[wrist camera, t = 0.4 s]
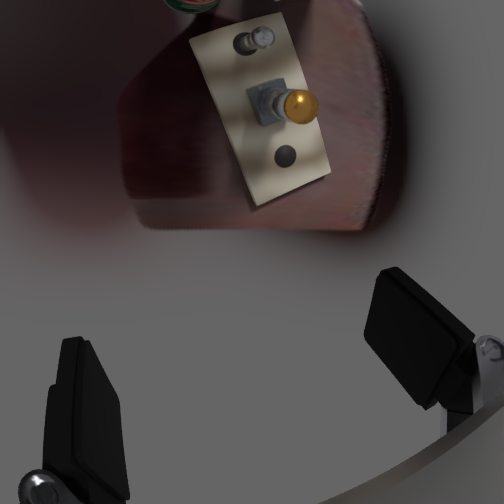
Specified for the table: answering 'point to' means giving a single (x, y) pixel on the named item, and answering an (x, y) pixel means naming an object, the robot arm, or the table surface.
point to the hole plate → (242, 115)
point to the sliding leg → (281, 103)
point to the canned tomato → (191, 5)
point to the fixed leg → (257, 39)
